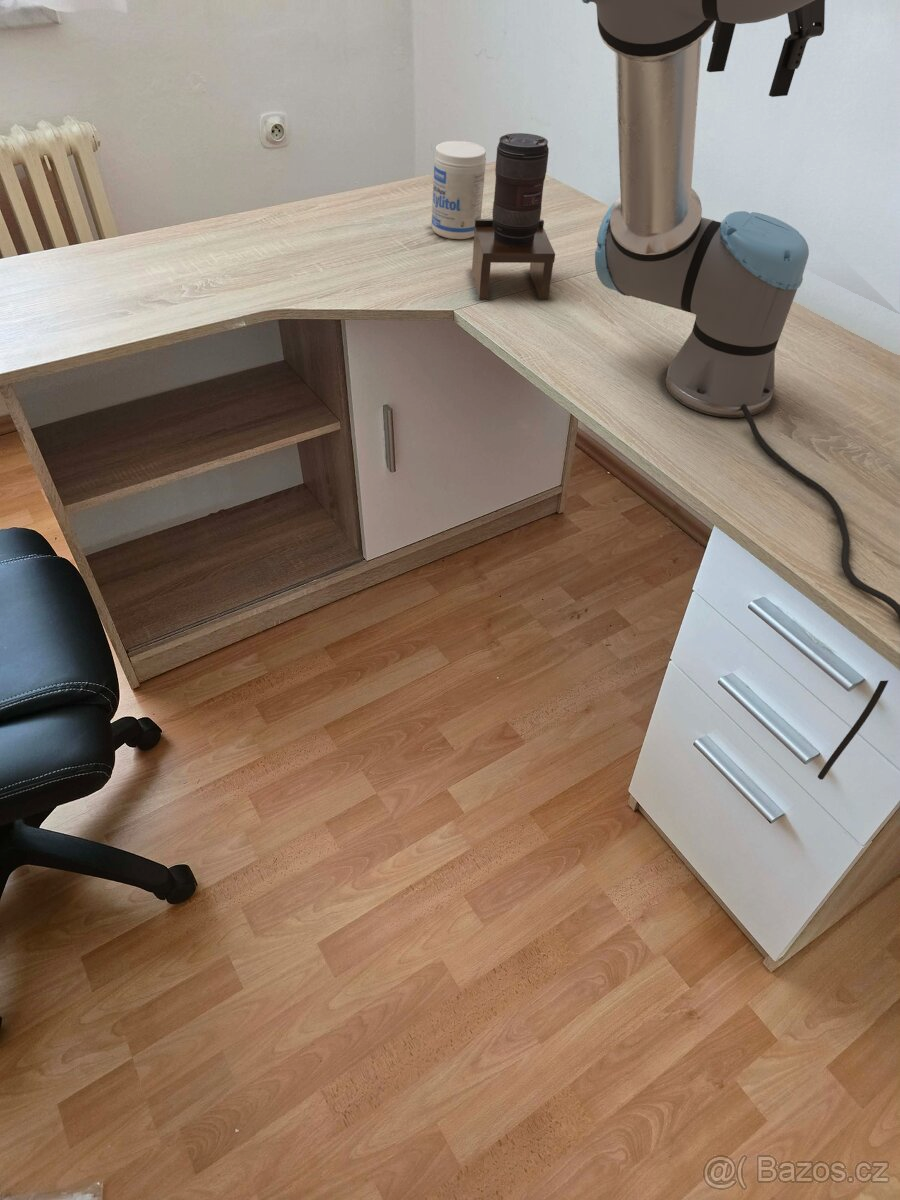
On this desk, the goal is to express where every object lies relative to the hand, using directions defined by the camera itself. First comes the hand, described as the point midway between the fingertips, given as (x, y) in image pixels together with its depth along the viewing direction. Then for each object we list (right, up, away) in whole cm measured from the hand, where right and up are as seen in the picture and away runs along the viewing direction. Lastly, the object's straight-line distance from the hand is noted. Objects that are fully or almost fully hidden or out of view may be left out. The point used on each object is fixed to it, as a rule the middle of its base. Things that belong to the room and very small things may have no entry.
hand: (745, 83), depth 112 cm
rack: (-32, -19, +25) cm, 45 cm away
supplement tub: (-41, -2, +41) cm, 58 cm away
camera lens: (-32, -13, +20) cm, 40 cm away
